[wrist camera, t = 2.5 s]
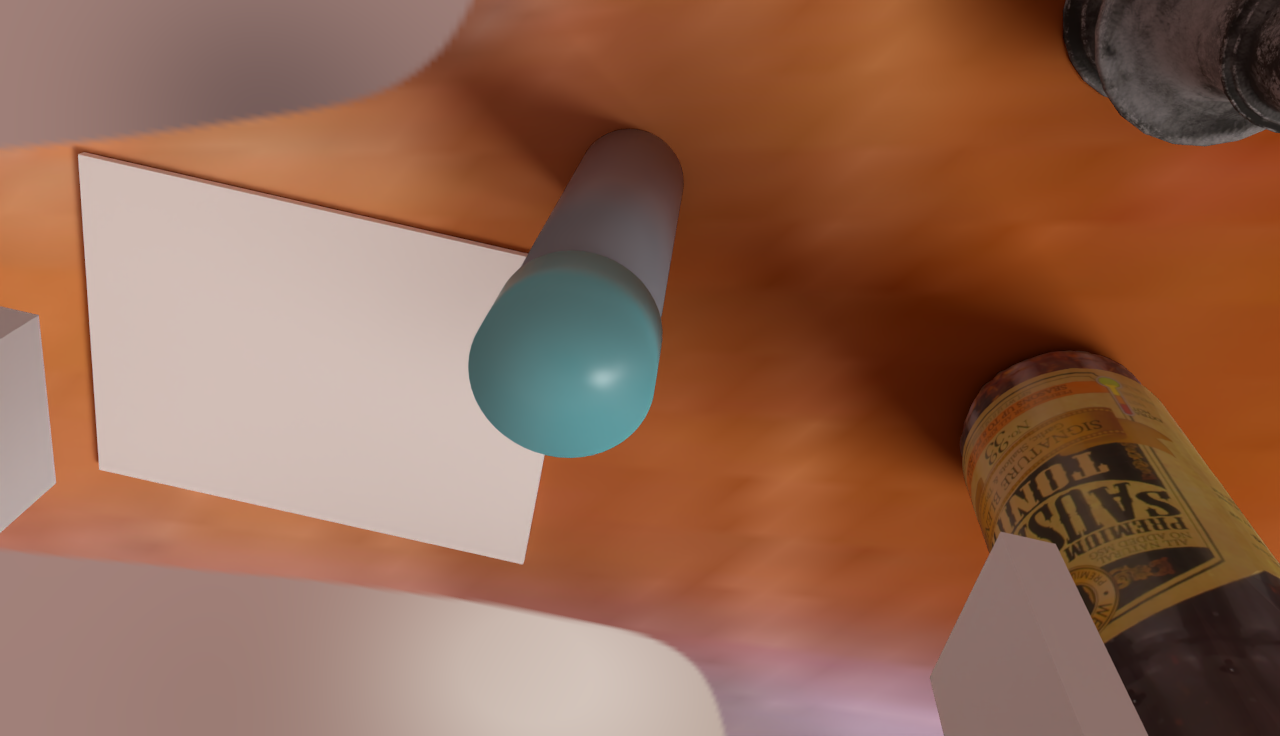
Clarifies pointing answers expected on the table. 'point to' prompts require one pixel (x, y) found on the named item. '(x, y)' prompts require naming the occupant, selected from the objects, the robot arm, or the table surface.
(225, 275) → the paper
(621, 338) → the marker
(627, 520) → the table surface
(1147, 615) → the sauce bottle
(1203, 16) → the dark grey chess piece
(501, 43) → the table surface
